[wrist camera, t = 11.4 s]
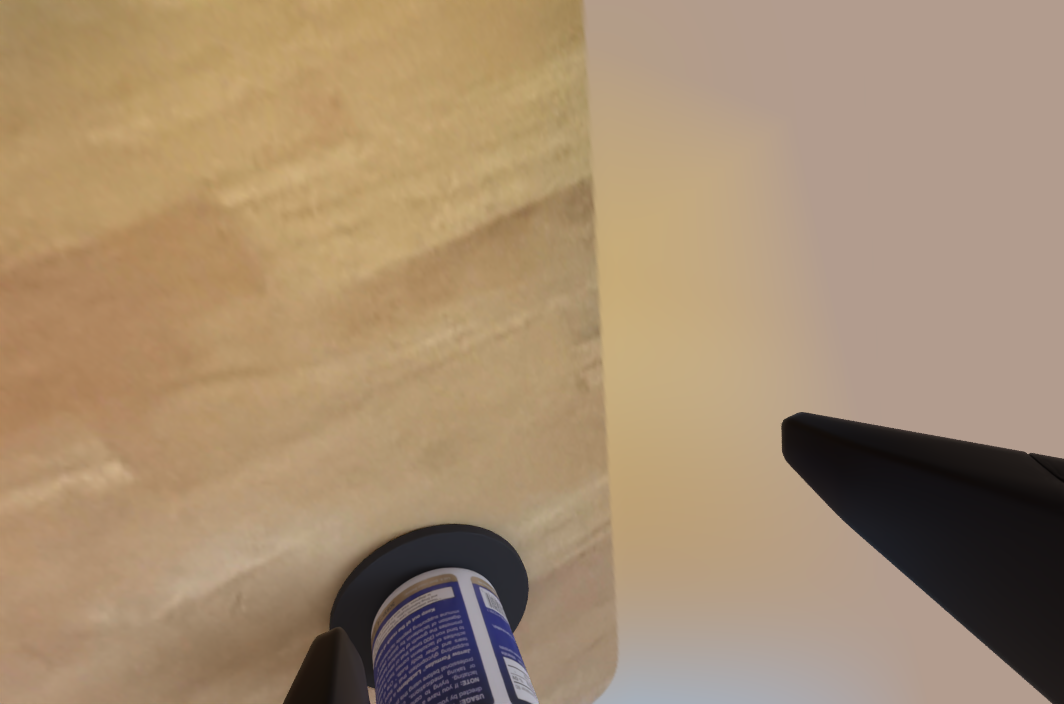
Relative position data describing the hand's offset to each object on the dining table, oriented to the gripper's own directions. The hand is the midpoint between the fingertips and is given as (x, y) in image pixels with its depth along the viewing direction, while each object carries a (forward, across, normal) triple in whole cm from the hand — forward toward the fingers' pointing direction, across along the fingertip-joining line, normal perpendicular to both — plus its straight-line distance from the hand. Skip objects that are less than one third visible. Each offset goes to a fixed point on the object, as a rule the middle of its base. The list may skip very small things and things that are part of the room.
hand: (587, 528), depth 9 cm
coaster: (+11, +5, +12) cm, 18 cm away
